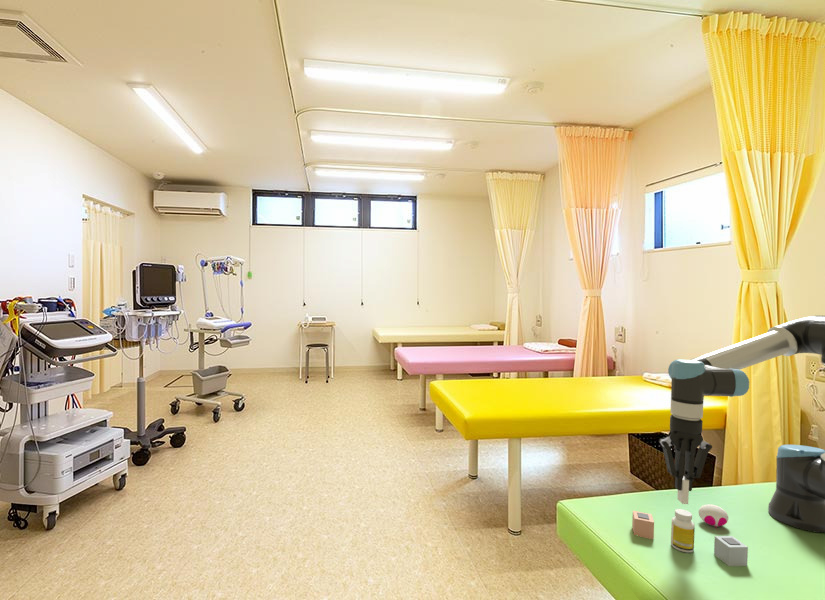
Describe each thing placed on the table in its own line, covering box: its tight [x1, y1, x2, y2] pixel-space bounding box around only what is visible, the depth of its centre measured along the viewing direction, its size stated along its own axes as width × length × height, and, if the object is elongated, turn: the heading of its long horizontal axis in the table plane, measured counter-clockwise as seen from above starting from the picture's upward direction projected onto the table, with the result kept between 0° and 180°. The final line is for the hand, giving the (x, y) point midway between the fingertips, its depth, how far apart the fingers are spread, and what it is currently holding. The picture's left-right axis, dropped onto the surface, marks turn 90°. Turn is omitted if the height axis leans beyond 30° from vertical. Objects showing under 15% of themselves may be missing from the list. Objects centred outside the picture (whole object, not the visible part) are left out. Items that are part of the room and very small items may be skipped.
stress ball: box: [698, 503, 729, 531], centre depth 130 cm, size 8×8×7 cm
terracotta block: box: [631, 510, 655, 540], centre depth 125 cm, size 5×5×5 cm
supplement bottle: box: [670, 508, 696, 553], centre depth 118 cm, size 5×5×10 cm
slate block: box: [713, 535, 749, 567], centre depth 113 cm, size 5×5×5 cm
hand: (682, 501), depth 118 cm, fingers closed
